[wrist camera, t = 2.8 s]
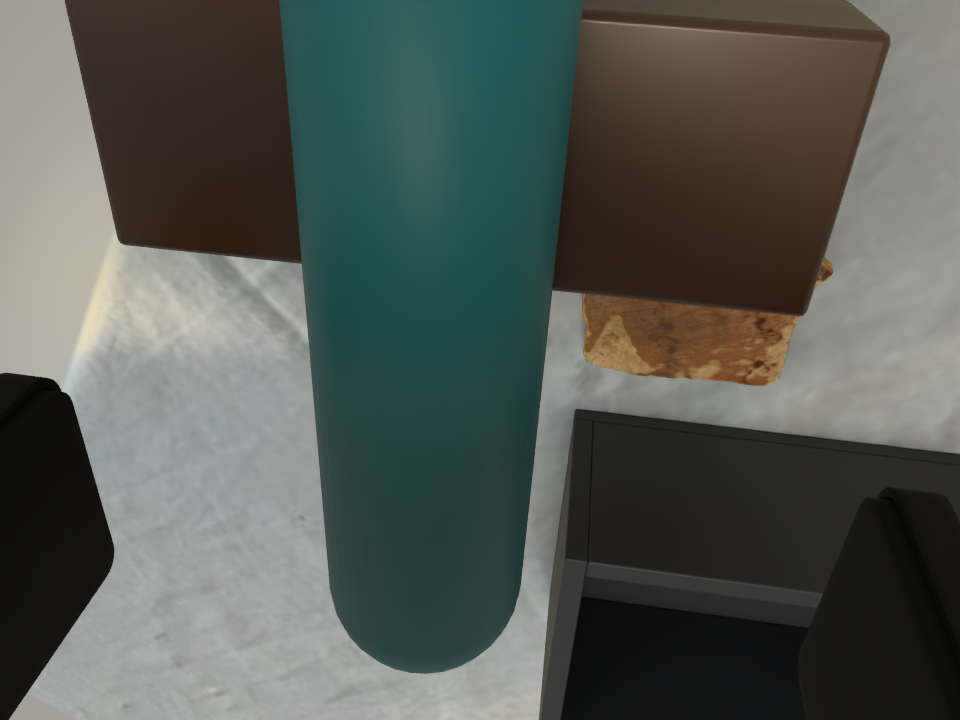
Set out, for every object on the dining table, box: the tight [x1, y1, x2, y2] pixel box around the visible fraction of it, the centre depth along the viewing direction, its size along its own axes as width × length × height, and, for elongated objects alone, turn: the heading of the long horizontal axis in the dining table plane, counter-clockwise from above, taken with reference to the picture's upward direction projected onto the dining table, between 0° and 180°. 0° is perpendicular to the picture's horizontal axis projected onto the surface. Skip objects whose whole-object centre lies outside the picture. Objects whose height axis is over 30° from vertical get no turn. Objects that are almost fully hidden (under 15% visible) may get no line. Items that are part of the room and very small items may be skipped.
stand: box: [65, 0, 890, 316], centre depth 16 cm, size 3×8×17 cm, turn 87°
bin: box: [539, 410, 960, 720], centre depth 30 cm, size 15×10×8 cm
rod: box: [279, 0, 583, 674], centre depth 8 cm, size 12×2×2 cm, turn 177°
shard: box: [582, 258, 833, 386], centre depth 25 cm, size 11×8×2 cm
